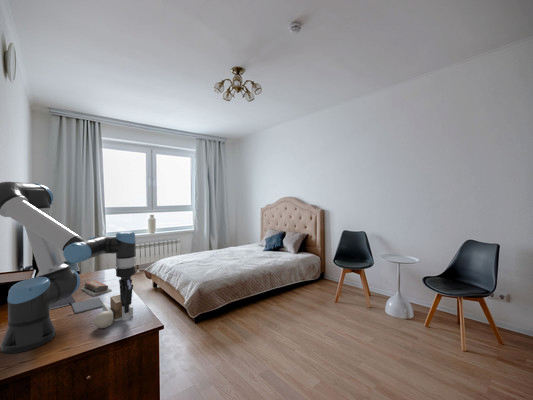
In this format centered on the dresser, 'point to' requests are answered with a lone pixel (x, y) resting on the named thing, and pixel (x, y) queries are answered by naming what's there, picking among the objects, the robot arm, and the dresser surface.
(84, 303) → the felt pad
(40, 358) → the dresser surface
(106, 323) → the cream piece
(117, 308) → the panel
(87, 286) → the packaged product
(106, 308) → the rack
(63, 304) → the notebook
